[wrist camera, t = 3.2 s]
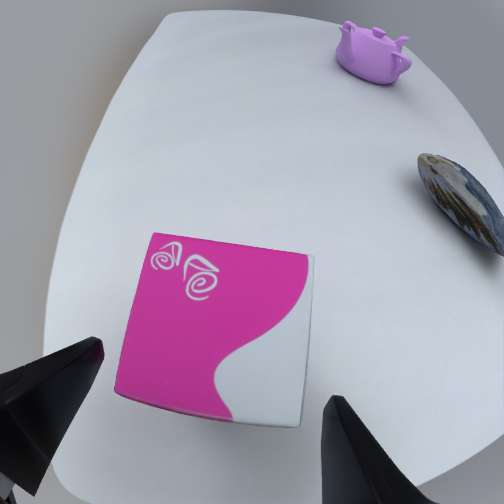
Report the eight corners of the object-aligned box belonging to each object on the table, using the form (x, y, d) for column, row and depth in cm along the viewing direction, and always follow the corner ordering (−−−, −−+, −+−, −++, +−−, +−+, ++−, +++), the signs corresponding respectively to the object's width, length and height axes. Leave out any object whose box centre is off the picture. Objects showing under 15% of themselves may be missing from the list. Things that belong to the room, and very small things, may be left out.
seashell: (428, 279, 21) (462, 258, 17) (394, 169, 26) (414, 139, 22) (506, 270, 22) (533, 254, 18) (475, 185, 27) (495, 164, 23)
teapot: (394, 70, 39) (409, 36, 30) (397, 101, 33) (419, 58, 25) (337, 47, 40) (347, 10, 32) (326, 72, 34) (339, 24, 26)
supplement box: (273, 317, 19) (323, 252, 9) (262, 399, 17) (303, 440, 6) (193, 304, 19) (149, 225, 9) (178, 385, 17) (108, 403, 6)
